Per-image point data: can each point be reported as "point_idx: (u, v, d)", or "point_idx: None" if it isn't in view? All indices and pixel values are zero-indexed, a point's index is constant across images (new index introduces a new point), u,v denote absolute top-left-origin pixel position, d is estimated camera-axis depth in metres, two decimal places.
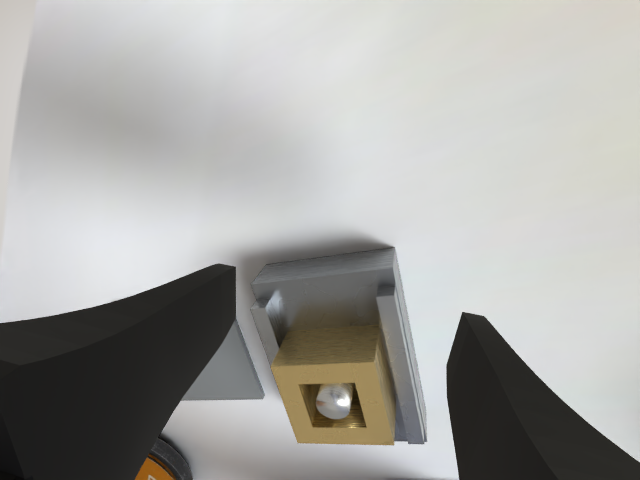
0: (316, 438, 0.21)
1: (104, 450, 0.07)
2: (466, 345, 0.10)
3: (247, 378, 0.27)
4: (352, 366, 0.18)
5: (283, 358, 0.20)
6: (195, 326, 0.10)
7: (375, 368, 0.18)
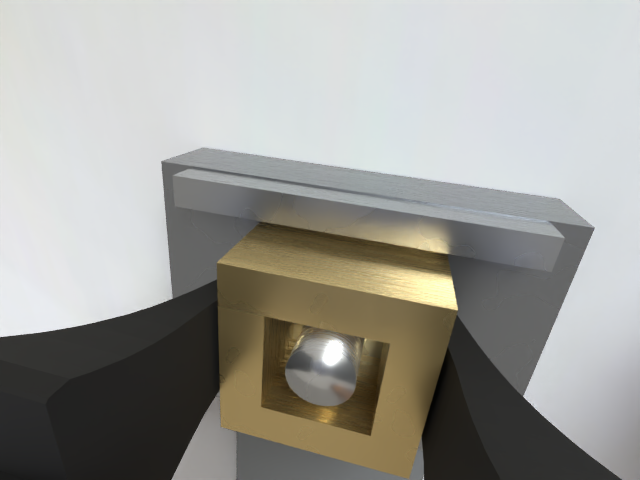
0: (404, 444, 0.10)
1: (141, 461, 0.07)
2: None
3: None
4: (225, 304, 0.09)
5: None
6: None
7: (234, 265, 0.09)
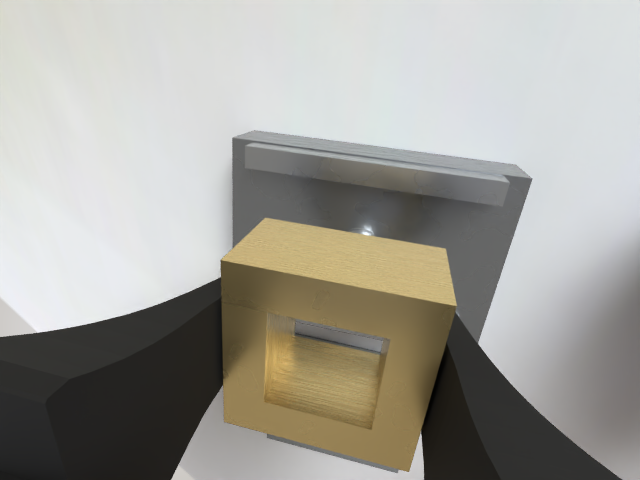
0: (404, 438, 0.10)
1: (140, 461, 0.07)
2: None
3: None
4: (229, 300, 0.09)
5: None
6: None
7: (238, 263, 0.09)
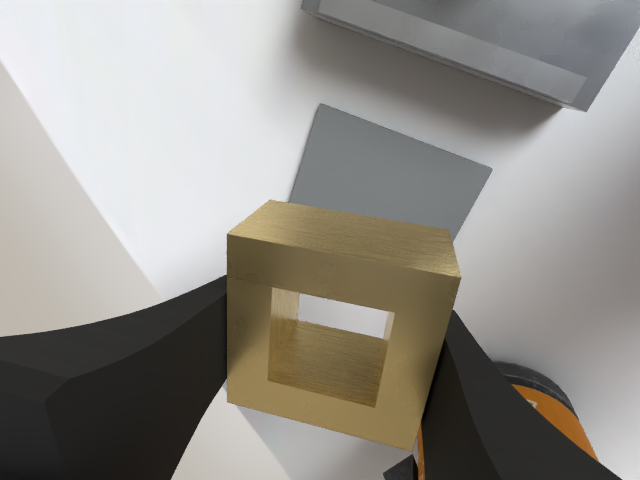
0: (407, 415, 0.10)
1: (140, 461, 0.07)
2: None
3: (448, 166, 0.18)
4: (234, 275, 0.09)
5: None
6: (223, 333, 0.10)
7: (244, 237, 0.09)
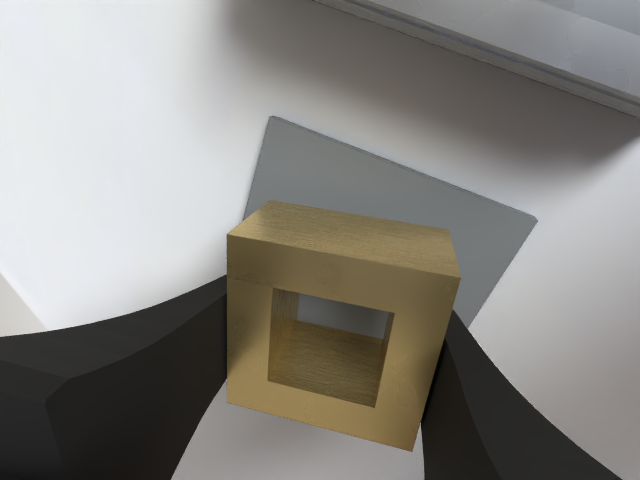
0: (407, 416, 0.10)
1: (140, 461, 0.07)
2: None
3: (467, 213, 0.12)
4: (234, 276, 0.09)
5: None
6: (222, 333, 0.10)
7: (244, 237, 0.09)
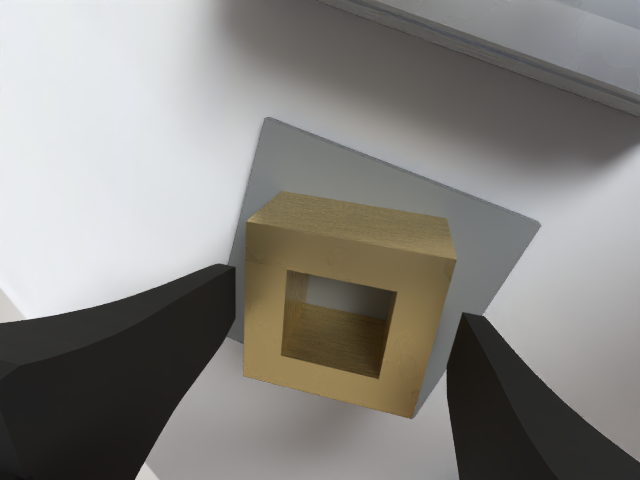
0: (408, 385, 0.11)
1: (104, 450, 0.07)
2: (466, 345, 0.10)
3: (468, 218, 0.12)
4: (252, 259, 0.10)
5: None
6: (195, 326, 0.10)
7: (261, 224, 0.10)
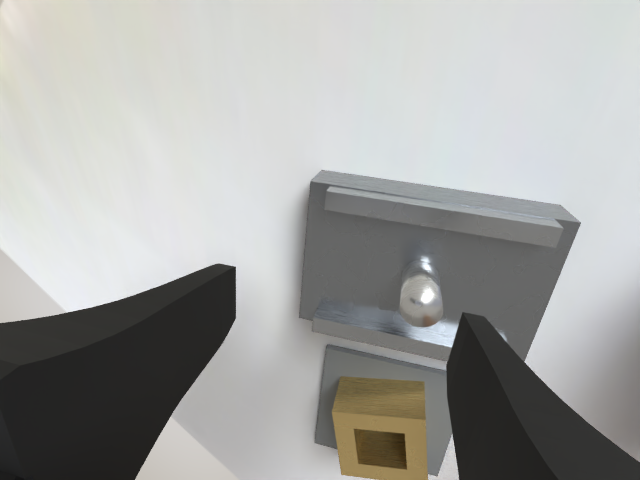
0: (421, 471, 0.23)
1: (104, 450, 0.07)
2: (466, 345, 0.10)
3: (434, 380, 0.24)
4: (337, 425, 0.23)
5: None
6: (195, 327, 0.10)
7: (338, 412, 0.22)
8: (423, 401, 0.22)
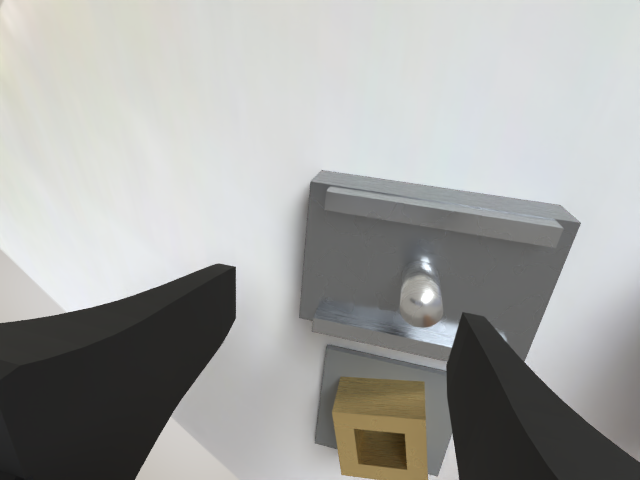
0: (421, 471, 0.23)
1: (104, 450, 0.07)
2: (466, 345, 0.10)
3: (434, 380, 0.24)
4: (337, 425, 0.23)
5: None
6: (195, 327, 0.10)
7: (339, 412, 0.22)
8: (423, 401, 0.22)
